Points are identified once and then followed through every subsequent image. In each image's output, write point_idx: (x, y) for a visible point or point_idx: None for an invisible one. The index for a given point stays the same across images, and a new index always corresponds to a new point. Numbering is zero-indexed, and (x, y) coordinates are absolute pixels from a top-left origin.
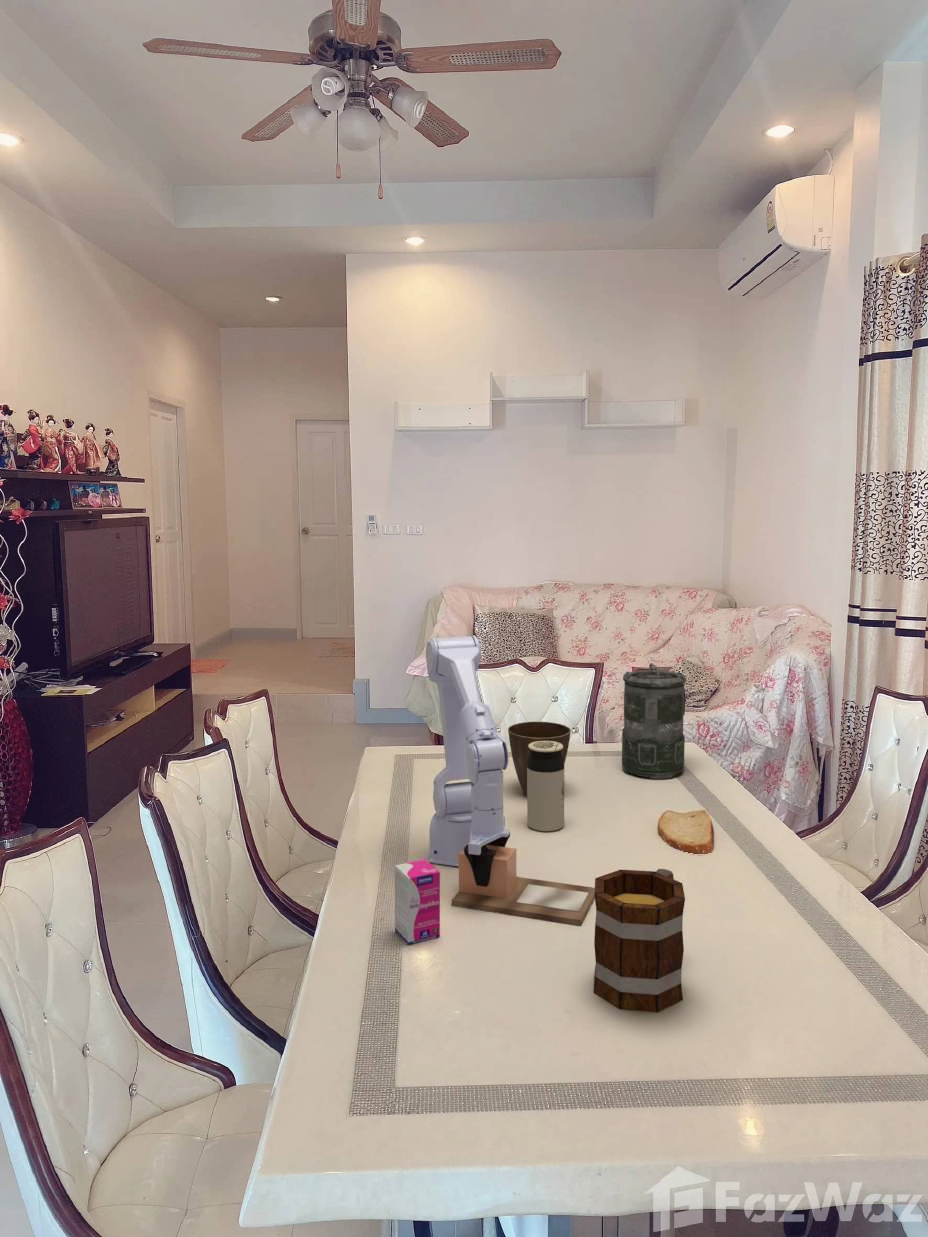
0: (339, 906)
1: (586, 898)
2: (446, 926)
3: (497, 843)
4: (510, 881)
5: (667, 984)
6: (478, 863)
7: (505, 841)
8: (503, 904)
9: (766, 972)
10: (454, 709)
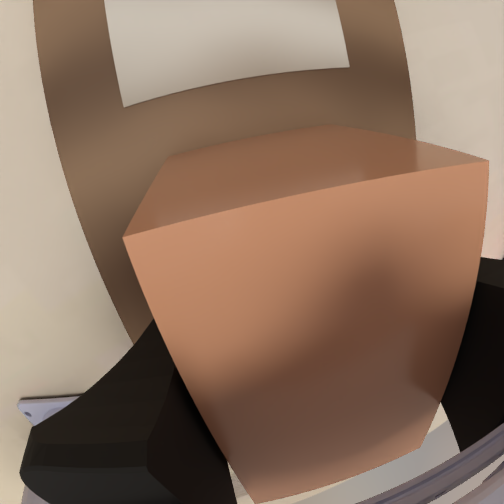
0: (432, 426)
1: None
2: (494, 231)
3: (196, 439)
4: (297, 138)
5: None
6: None
7: (162, 417)
8: (388, 115)
9: None
10: None
